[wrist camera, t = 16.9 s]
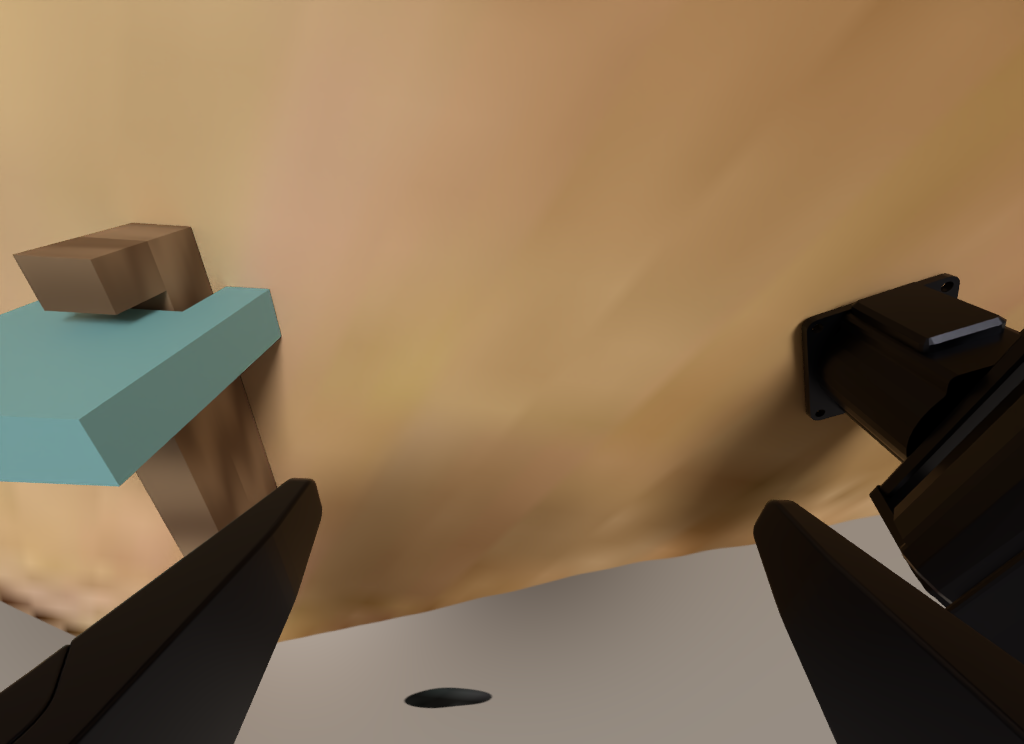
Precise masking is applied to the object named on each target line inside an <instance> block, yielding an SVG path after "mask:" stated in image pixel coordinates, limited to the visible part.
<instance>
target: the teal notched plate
mask: <svg viewBox="0 0 1024 744" xmlns="http://www.w3.org/2000/svg"><path fill="white" fill-rule="evenodd" d="M280 337H281V333H280V329H279V325H278V321H277V318H276V314H275V310H274V306H273V302H272V298H271V294H270V290H269V289H259V288H242V287H225V288H223V289H221V290H219V291H218V292H216V293H214V294H212V295H211V296H209V297H207V298H205V299H204V300H202V301H200V302H198V303H197V304H195V305H193V306H192V307H190V308H188V309H186V310H185V311H183V312H180V311H162V310H144V309H128V310H126V311H124V312H121V313H119V314H117V315H108V314H91V313H74V312H57V311H44V309H43V307H42V306H41V304H40V302H39V300H38V301H36V302H33V303H30V304H28V305H25V306H22V307H20V308H17V309H14V310H12V311H9V312H7V313H4V314H1V315H0V481H7V482H30V483H53V484H77V485H100V486H120V485H121V484H123V483H124V482H125V481H126V480H127V479H128V478H129V477H130V476H131V475H132V474H133V473H134V472H136V471H137V470H138V469H139V468H140V467H141V466H142V465H143V464H144V463H145V462H146V461H147V460H148V459H150V458H151V457H152V456H153V455H154V454H155V453H156V452H157V451H158V450H159V449H160V448H161V447H163V446H164V445H165V444H166V443H167V442H168V441H169V440H170V439H171V438H172V437H173V436H174V435H175V434H177V433H178V432H179V431H180V430H181V429H182V428H183V427H184V426H185V425H186V424H187V423H188V422H190V421H191V420H192V419H193V418H194V417H195V416H196V415H197V414H198V413H199V412H200V411H201V410H202V409H204V408H205V407H206V406H207V405H208V404H209V403H210V402H211V401H212V400H213V399H214V398H215V397H217V396H218V395H219V394H220V393H221V392H222V391H223V390H224V389H225V388H226V387H227V386H228V385H229V384H231V383H232V382H233V381H234V380H235V379H236V378H237V377H238V376H239V375H240V374H241V373H242V372H244V371H245V370H246V369H247V368H248V367H249V366H250V365H251V364H252V363H253V362H254V361H255V360H256V359H258V358H259V357H260V356H261V355H262V354H263V353H264V352H265V351H266V350H267V349H268V348H269V347H271V346H272V345H273V344H274V343H275V342H276V341H277V340H278V339H279V338H280Z"/></svg>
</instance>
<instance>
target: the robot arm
mask: <svg viewBox="0 0 1024 744" xmlns="http://www.w3.org/2000/svg"><path fill="white" fill-rule="evenodd" d="M944 284H945V285H944ZM943 285H944V286H943ZM959 285H960V280H959V278H958V277H956V276H953V275H950V274H946V273H944V274H940V275H937V276H934V277H931V278H928V279H925V280H921V281H918V282H913V283H910V284H907V285H904V286H901V287H897V288H894V289H891V290H888V291H885V292H882V293H879V294H876V295H873V296H870V297H867V298H864V299H861V300H858V301H857V302H855V303H852V304H849V305H846V306H843V307H840V308H837V309H834V310H831V311H828V312H825V313H821V314H818V315H815V316H812V317H810V318H808V319H807V320H806V321H805V322H804V323H803V325H802V344H803V363H804V382H805V401H806V413H807V415H809V416H810V417H811V418H812V419H813V420H822V419H825V418H829V417H833V416H836V415H840V414H843V413H846V414H847V415H848V416H849V417H850V418H851V419H853V420H854V421H855V422H856V423H857V424H858V425H859V426H861V427H862V428H863V429H864V430H865V431H866V432H867V433H869V434H870V435H871V436H872V437H873V438H874V439H875V440H877V441H878V442H879V443H880V444H881V445H882V446H883V447H885V448H886V449H887V450H888V451H889V452H890V453H891V454H893V455H894V456H895V457H896V458H897V459H898V460H899V461H901V462H902V464H901V465H900V466H899V467H898V468H897V469H896V470H895V471H894V472H893V473H892V474H891V475H890V476H889V477H888V479H887V480H886V481H885V482H884V483H883V484H882V485H877V486H876V488H875V489H874V490H873V491H872V492H871V493H870V494H869V495H870V497H871V499H872V501H873V503H874V504H875V506H876V508H877V510H878V512H879V513H880V515H881V517H882V518H883V520H884V522H885V524H886V526H887V527H888V529H889V531H890V533H891V534H892V536H893V538H894V540H895V542H896V543H897V545H898V547H899V549H900V550H901V553H902V555H903V557H904V559H905V560H906V561H907V563H908V564H909V566H910V568H911V570H912V571H913V573H914V574H915V576H916V577H917V578H918V580H919V581H920V582H921V584H922V585H923V587H924V588H925V590H926V591H927V592H928V593H929V594H931V595H932V596H934V597H935V598H936V599H937V600H938V601H939V602H940V603H941V604H942V605H944V606H945V607H946V608H943V607H942V606H940V605H939V604H937V603H936V602H935V601H933V600H932V599H930V598H929V597H928V596H926V595H925V594H923V593H922V592H921V591H919V590H918V589H916V588H915V587H914V586H912V585H911V584H909V583H908V582H907V581H905V580H904V579H902V578H901V577H899V576H898V575H897V574H895V573H894V572H892V571H891V570H889V569H888V568H887V567H885V566H884V565H883V564H881V563H880V562H878V561H877V560H876V559H874V558H872V557H871V556H870V555H868V554H867V553H866V552H864V551H863V550H861V549H860V548H858V547H857V546H856V545H854V544H853V543H852V542H850V541H849V540H847V539H846V538H845V537H843V536H842V535H840V534H839V533H837V532H836V531H835V530H833V529H832V528H830V527H829V526H828V525H826V524H825V523H823V522H822V521H821V520H819V519H818V518H816V517H815V516H814V515H812V514H811V513H809V512H808V511H806V510H805V509H804V508H802V507H801V506H799V505H798V504H796V503H795V502H793V501H789V500H770V501H768V502H767V503H766V505H765V507H764V509H763V510H762V512H761V514H760V516H759V517H758V519H757V521H756V523H755V525H754V529H753V534H754V539H755V542H756V545H757V548H758V551H759V554H760V557H761V560H762V563H763V566H764V569H765V572H766V575H767V578H768V581H769V584H770V587H771V590H772V593H773V596H774V599H775V602H776V604H777V607H778V610H779V613H780V615H781V618H782V620H783V623H784V625H785V627H786V630H787V632H788V634H789V637H790V639H791V641H792V643H793V646H794V648H795V650H796V652H797V655H798V657H799V659H800V661H801V663H802V666H803V668H804V670H805V672H806V675H807V677H808V679H809V682H810V684H811V686H812V688H813V691H814V693H815V695H816V698H817V700H818V702H819V704H820V706H821V709H822V711H823V713H824V716H825V718H826V720H827V722H828V725H829V727H830V729H831V731H832V734H833V736H834V738H835V740H836V742H837V744H1024V329H1023V330H1022V331H1021V332H1018V331H1016V330H1013V329H1011V328H1009V327H1006V326H1005V325H1006V319H1005V318H1003V317H1001V316H999V315H997V314H994V313H992V312H989V311H987V310H984V309H982V308H979V307H977V306H974V305H972V304H969V303H967V302H964V301H962V300H959V299H957V297H958V291H959ZM942 286H943V287H942ZM817 324H818V326H817V327H816V328H815V329H813V327H814V326H815V325H817ZM812 329H813V330H812ZM818 410H819V411H818ZM817 411H818V412H817ZM321 516H322V505H321V502H320V498H319V494H318V490H317V486H316V483H315V481H314V480H313V479H307V478H292V479H289V480H288V481H286V482H285V483H283V484H282V485H281V486H279V487H278V488H277V489H275V490H274V491H273V492H271V493H270V494H268V495H267V496H266V497H264V498H263V499H262V500H260V501H259V502H258V503H256V504H255V505H254V506H252V507H251V508H250V509H248V510H247V511H246V512H244V513H243V514H242V515H240V516H239V517H237V518H236V519H235V520H233V521H232V522H231V523H229V524H228V525H227V526H225V527H224V528H223V529H221V530H220V531H219V532H217V533H216V534H215V535H213V536H212V537H211V538H209V539H208V540H206V541H205V542H204V543H202V544H201V545H200V546H198V547H197V548H196V549H194V550H193V551H192V552H190V553H189V554H188V555H186V556H185V557H184V558H182V559H181V560H180V561H178V562H177V563H175V564H174V565H173V566H171V567H170V568H169V569H167V570H166V571H165V572H163V573H162V574H161V575H159V576H158V577H157V578H155V579H154V580H153V581H151V582H150V583H149V584H147V585H146V586H144V587H143V588H142V589H140V590H139V591H138V592H136V593H135V594H134V595H132V596H131V597H130V598H128V599H127V600H126V601H124V602H123V603H122V604H120V605H119V606H118V607H116V608H115V609H114V610H112V611H111V612H109V613H108V614H107V615H105V616H104V617H103V618H101V619H100V620H99V621H97V622H96V623H95V624H93V625H92V626H91V627H89V628H88V629H87V630H85V631H84V632H83V633H81V634H80V635H78V636H77V637H76V638H74V639H73V640H72V642H71V644H70V645H65V646H63V647H62V648H61V649H59V650H58V651H57V652H55V653H54V654H53V655H51V656H50V657H49V658H47V659H46V660H44V661H43V662H42V663H41V664H39V665H38V666H36V667H35V668H34V669H32V670H31V671H30V672H29V673H27V674H26V675H24V676H23V677H21V678H20V679H19V680H17V681H16V682H14V683H13V684H12V685H10V686H9V687H7V688H6V689H5V690H3V691H2V692H0V744H234V742H235V739H236V737H237V735H238V733H239V730H240V728H241V726H242V723H243V721H244V719H245V716H246V714H247V712H248V709H249V707H250V705H251V702H252V700H253V698H254V695H255V693H256V691H257V688H258V686H259V684H260V681H261V679H262V677H263V674H264V672H265V670H266V667H267V665H268V663H269V660H270V658H271V655H272V653H273V651H274V649H275V646H276V644H277V642H278V640H279V637H280V635H281V633H282V630H283V628H284V626H285V623H286V621H287V619H288V616H289V614H290V612H291V609H292V607H293V604H294V602H295V599H296V597H297V594H298V591H299V588H300V585H301V582H302V578H303V575H304V572H305V569H306V565H307V562H308V559H309V556H310V553H311V549H312V546H313V543H314V540H315V537H316V533H317V530H318V527H319V524H320V521H321Z"/></svg>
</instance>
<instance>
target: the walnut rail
mask: <svg viewBox="0 0 1024 744" xmlns="http://www.w3.org/2000/svg"><path fill="white" fill-rule="evenodd" d="M13 256H14V258H15V260H16V262H17V263H18V265H19V267H20V269H21V270H22V272H23V274H24V276H25V277H26V279H27V281H28V283H29V285H30V286H31V288H32V290H33V292H34V293H35V295H36V297H37V299H38V300H39V302H40V304H41V306H42V307H43V309H44V311H57V312H74V313H91V314H108V315H117V314H119V313H121V312H124V311H126V310H128V309H144V310H162V311H180V312H183V311H185V310H186V309H188V308H190V307H192V306H193V305H195V304H197V303H198V302H200V301H202V300H204V299H205V298H207V297H209V296H211V295H212V294H213V293H212V290H211V287H210V284H209V281H208V278H207V275H206V272H205V269H204V266H203V263H202V260H201V257H200V254H199V251H198V248H197V245H196V242H195V239H194V236H193V233H192V229H191V227H186V226H170V225H155V224H140V223H130V224H126V225H122V226H119V227H115V228H111V229H107V230H104V231H100V232H96V233H92V234H89V235H85V236H81V237H77V238H74V239H70V240H66V241H62V242H59V243H55V244H51V245H47V246H43V247H40V248H36V249H32V250H28V251H25V252H21V253H17V254H13ZM136 473H137V475H138V477H139V478H140V480H141V482H142V484H143V486H144V487H145V489H146V491H147V493H148V494H149V496H150V498H151V500H152V501H153V503H154V505H155V507H156V508H157V510H158V512H159V514H160V516H161V517H162V519H163V521H164V523H165V524H166V526H167V528H168V530H169V531H170V533H171V535H172V537H173V538H174V540H175V542H176V544H177V545H178V547H179V549H180V551H181V553H182V554H183V556H184V557H185V556H186V555H188V554H189V553H190V552H192V551H193V550H194V549H196V548H197V547H198V546H200V545H201V544H202V543H204V542H205V541H206V540H208V539H209V538H211V537H212V536H213V535H215V534H216V533H217V532H219V531H220V530H221V529H223V528H224V527H225V526H227V525H228V524H229V523H231V522H232V521H233V520H235V519H236V518H237V517H239V516H240V515H242V514H243V513H244V512H246V511H247V510H248V509H250V508H251V507H252V506H254V505H255V504H256V503H258V502H259V501H260V500H262V499H263V498H264V497H266V496H267V495H268V494H270V493H271V492H273V491H274V490H275V489H277V487H276V484H275V481H274V478H273V475H272V472H271V469H270V466H269V463H268V460H267V456H266V453H265V450H264V447H263V444H262V441H261V438H260V435H259V432H258V429H257V426H256V423H255V420H254V417H253V414H252V411H251V408H250V405H249V402H248V399H247V396H246V393H245V390H244V387H243V384H242V381H241V378H240V375H239V376H238V377H237V378H236V379H235V380H234V381H233V382H232V383H231V384H229V385H228V386H227V387H226V388H225V389H224V390H223V391H222V392H221V393H220V394H219V395H218V396H217V397H215V398H214V399H213V400H212V401H211V402H210V403H209V404H208V405H207V406H206V407H205V408H204V409H202V410H201V411H200V412H199V413H198V414H197V415H196V416H195V417H194V418H193V419H192V420H191V421H190V422H188V423H187V424H186V425H185V426H184V427H183V428H182V429H181V430H180V431H179V432H178V433H177V434H175V435H174V436H173V437H172V438H171V439H170V440H169V441H168V442H167V443H166V444H165V445H164V446H163V447H161V448H160V449H159V450H158V451H157V452H156V453H155V454H154V455H153V456H152V457H151V458H150V459H148V460H147V461H146V462H145V463H144V464H143V465H142V466H141V467H140V468H139V469H138V470H137V471H136Z"/></svg>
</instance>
